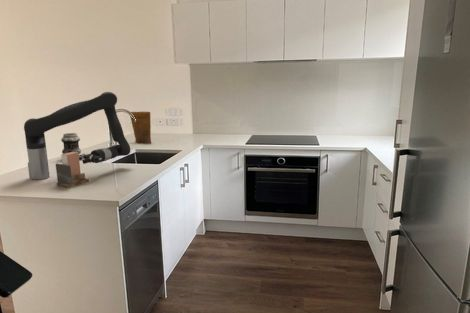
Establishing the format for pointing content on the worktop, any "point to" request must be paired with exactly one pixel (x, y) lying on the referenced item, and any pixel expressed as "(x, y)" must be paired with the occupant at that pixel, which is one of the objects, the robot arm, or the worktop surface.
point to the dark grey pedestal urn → (70, 143)
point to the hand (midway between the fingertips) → (77, 161)
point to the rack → (68, 177)
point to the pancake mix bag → (142, 127)
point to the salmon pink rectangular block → (72, 162)
